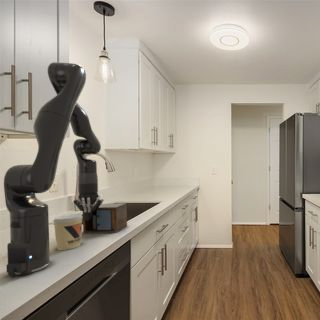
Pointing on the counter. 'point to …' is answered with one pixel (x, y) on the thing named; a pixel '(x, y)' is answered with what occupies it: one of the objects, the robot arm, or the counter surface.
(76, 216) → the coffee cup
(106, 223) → the sliding lid with handle
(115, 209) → the cupboard
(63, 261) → the counter surface
